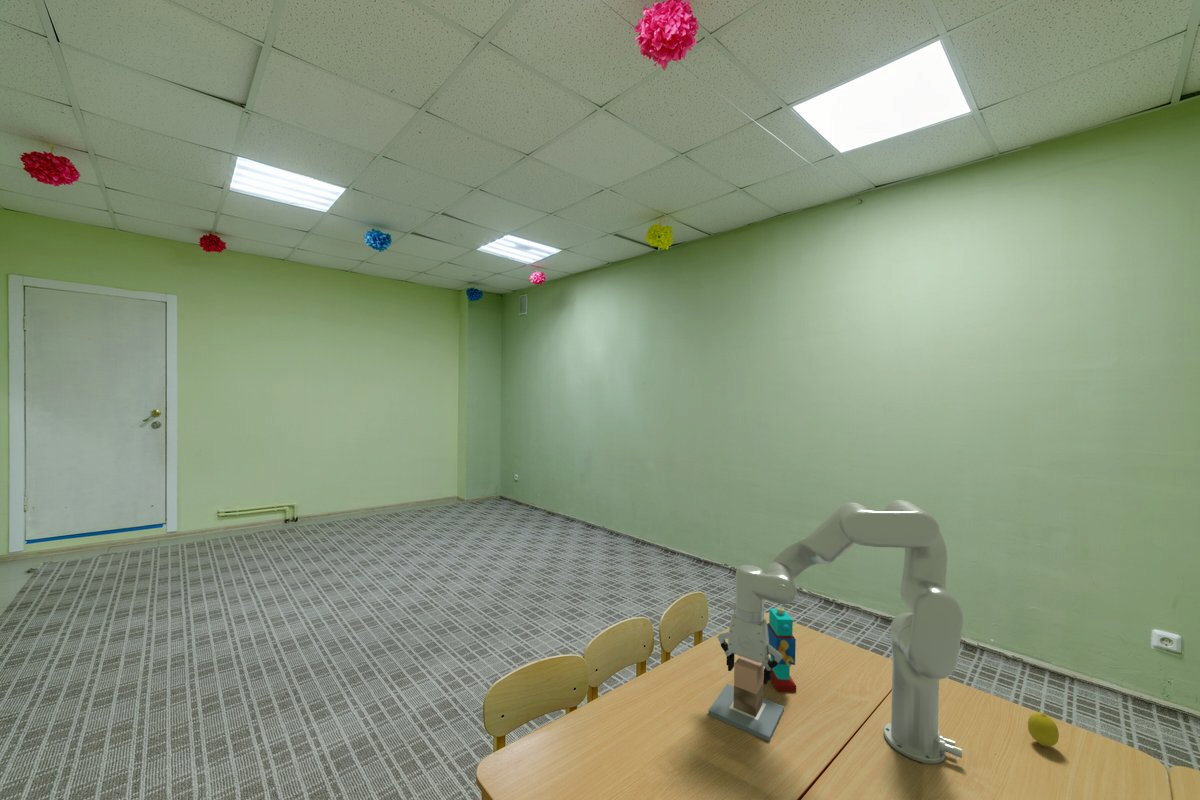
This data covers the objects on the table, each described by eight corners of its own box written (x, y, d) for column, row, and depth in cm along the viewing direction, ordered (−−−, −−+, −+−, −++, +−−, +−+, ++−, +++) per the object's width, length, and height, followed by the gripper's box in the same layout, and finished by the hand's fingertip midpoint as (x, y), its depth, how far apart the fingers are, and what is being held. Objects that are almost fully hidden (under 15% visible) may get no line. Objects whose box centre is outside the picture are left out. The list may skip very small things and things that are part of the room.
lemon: (1048, 756, 109) (1049, 723, 109) (1021, 739, 114) (1022, 708, 114) (1064, 751, 111) (1065, 719, 111) (1037, 735, 116) (1037, 704, 116)
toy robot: (798, 695, 130) (800, 609, 130) (777, 695, 130) (778, 608, 130) (783, 671, 142) (784, 591, 141) (763, 670, 142) (765, 591, 141)
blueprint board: (784, 710, 124) (784, 706, 124) (769, 742, 112) (769, 737, 112) (727, 687, 133) (727, 683, 133) (708, 714, 122) (708, 709, 122)
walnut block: (762, 704, 124) (762, 682, 124) (755, 716, 119) (756, 694, 119) (740, 695, 128) (741, 674, 128) (733, 707, 123) (733, 685, 123)
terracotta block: (763, 682, 124) (763, 661, 124) (756, 694, 119) (756, 671, 119) (741, 674, 128) (741, 653, 128) (734, 685, 123) (734, 663, 123)
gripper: (713, 608, 125) (712, 670, 126) (778, 628, 115) (777, 695, 115) (723, 599, 131) (722, 657, 132) (786, 617, 121) (785, 680, 121)
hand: (748, 675), depth 123 cm, fingers open, 9 cm apart
